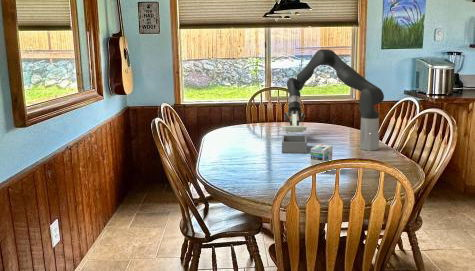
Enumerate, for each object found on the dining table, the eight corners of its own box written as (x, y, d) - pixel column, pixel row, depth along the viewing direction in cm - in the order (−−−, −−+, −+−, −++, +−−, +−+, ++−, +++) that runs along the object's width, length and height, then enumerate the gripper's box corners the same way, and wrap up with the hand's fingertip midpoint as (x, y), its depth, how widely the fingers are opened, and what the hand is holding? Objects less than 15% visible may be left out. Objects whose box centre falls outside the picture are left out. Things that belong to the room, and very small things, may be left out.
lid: (306, 129, 247) (306, 110, 248) (282, 129, 249) (282, 110, 250) (305, 132, 266) (306, 114, 267) (283, 132, 268) (283, 114, 269)
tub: (306, 153, 226) (306, 142, 225) (281, 153, 228) (281, 142, 227) (305, 146, 244) (306, 135, 243) (282, 145, 245) (282, 135, 244)
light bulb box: (324, 174, 190) (324, 150, 188) (309, 171, 194) (310, 148, 191) (332, 168, 199) (333, 145, 197) (318, 166, 202) (319, 143, 200)
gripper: (283, 100, 270) (282, 123, 261) (306, 100, 268) (306, 123, 259) (283, 108, 276) (282, 130, 267) (305, 108, 275) (305, 130, 265)
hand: (294, 127), depth 263 cm, fingers open, 3 cm apart
